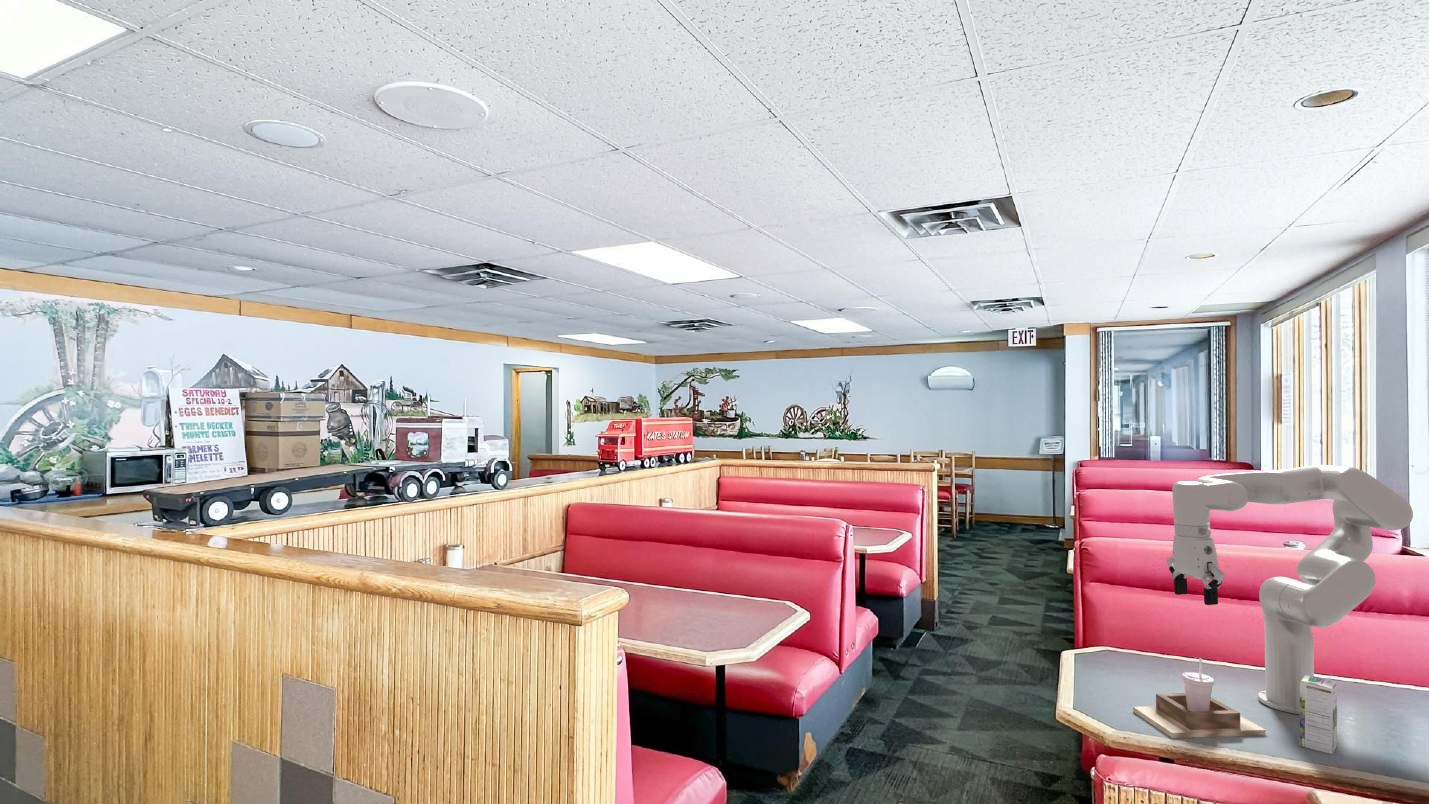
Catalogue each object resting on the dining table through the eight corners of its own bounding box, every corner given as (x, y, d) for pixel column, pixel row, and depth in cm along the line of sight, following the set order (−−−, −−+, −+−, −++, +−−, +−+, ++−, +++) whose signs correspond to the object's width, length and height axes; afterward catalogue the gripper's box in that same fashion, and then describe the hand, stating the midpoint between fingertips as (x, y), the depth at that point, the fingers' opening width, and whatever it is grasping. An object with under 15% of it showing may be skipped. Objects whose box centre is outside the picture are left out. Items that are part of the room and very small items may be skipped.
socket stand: (1219, 709, 176) (1219, 690, 176) (1265, 735, 162) (1265, 714, 162) (1133, 711, 175) (1132, 692, 175) (1172, 738, 161) (1172, 717, 161)
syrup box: (1303, 738, 160) (1302, 673, 161) (1338, 747, 156) (1337, 680, 156) (1299, 746, 157) (1298, 680, 157) (1334, 755, 152) (1333, 688, 152)
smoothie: (1219, 724, 165) (1219, 664, 165) (1189, 722, 166) (1189, 662, 166) (1206, 713, 171) (1206, 655, 171) (1176, 710, 172) (1176, 653, 172)
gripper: (1234, 536, 170) (1238, 607, 170) (1180, 524, 187) (1183, 589, 187) (1205, 538, 169) (1209, 610, 169) (1153, 526, 187) (1157, 591, 186)
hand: (1195, 599), depth 178 cm, fingers open, 9 cm apart
